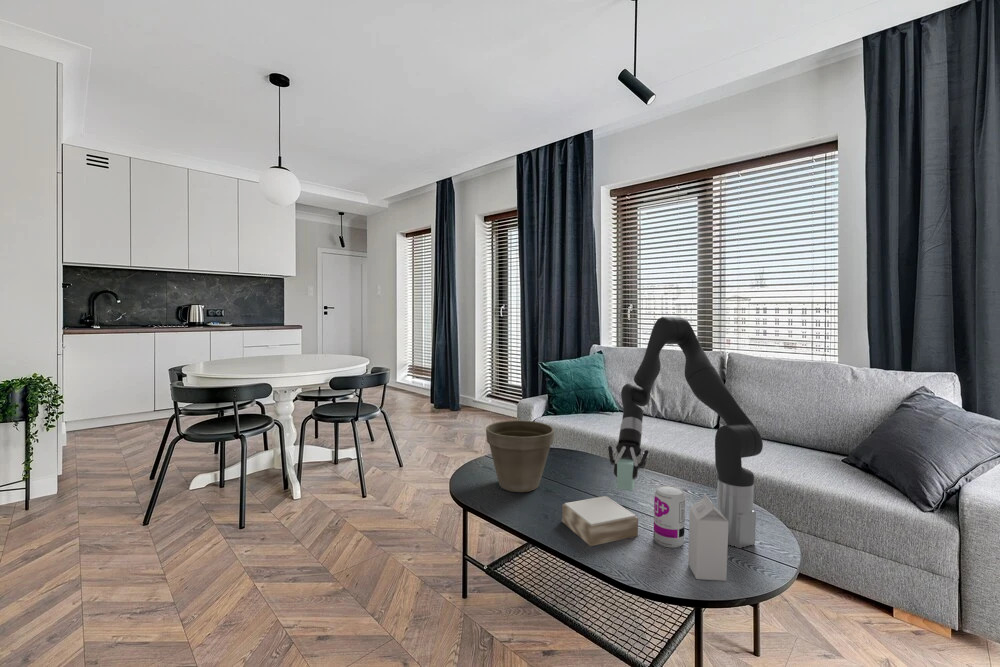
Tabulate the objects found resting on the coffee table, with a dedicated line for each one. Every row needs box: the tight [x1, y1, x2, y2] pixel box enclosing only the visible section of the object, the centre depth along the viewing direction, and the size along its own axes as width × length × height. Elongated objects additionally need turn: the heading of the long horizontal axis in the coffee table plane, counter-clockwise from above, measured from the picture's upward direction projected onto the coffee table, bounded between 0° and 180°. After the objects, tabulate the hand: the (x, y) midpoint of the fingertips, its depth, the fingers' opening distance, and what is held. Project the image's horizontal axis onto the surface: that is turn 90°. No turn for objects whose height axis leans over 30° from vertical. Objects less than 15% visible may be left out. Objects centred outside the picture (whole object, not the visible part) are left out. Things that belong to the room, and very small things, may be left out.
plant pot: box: [485, 420, 555, 493], centre depth 177 cm, size 25×25×22 cm
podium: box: [561, 495, 639, 547], centre depth 144 cm, size 16×16×6 cm
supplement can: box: [652, 484, 686, 549], centre depth 136 cm, size 8×8×15 cm
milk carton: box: [687, 493, 729, 582], centre depth 120 cm, size 7×7×19 cm
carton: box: [616, 459, 635, 492], centre depth 162 cm, size 5×5×9 cm
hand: (625, 477), depth 161 cm, fingers closed on carton, 5 cm apart
